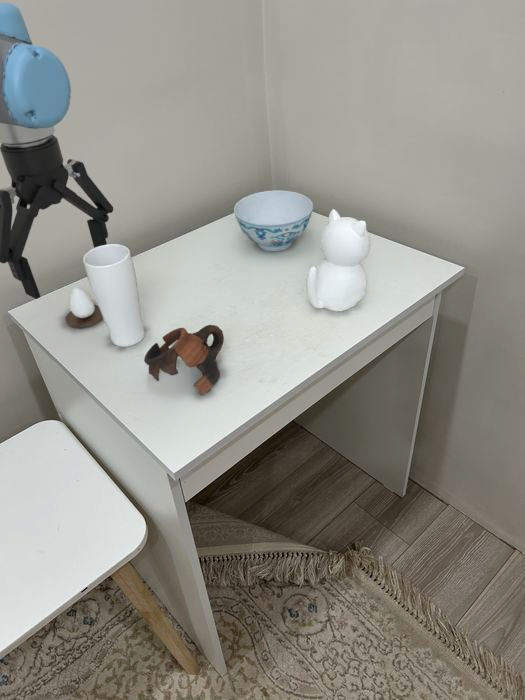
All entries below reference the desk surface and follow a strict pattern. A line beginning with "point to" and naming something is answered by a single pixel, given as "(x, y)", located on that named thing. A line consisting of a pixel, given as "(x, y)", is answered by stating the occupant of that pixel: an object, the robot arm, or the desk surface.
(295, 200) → the chinaware
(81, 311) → the egg
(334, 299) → the cat figurine
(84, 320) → the coaster
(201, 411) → the desk surface
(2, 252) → the robot arm
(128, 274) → the drinking glass
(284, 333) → the desk surface
